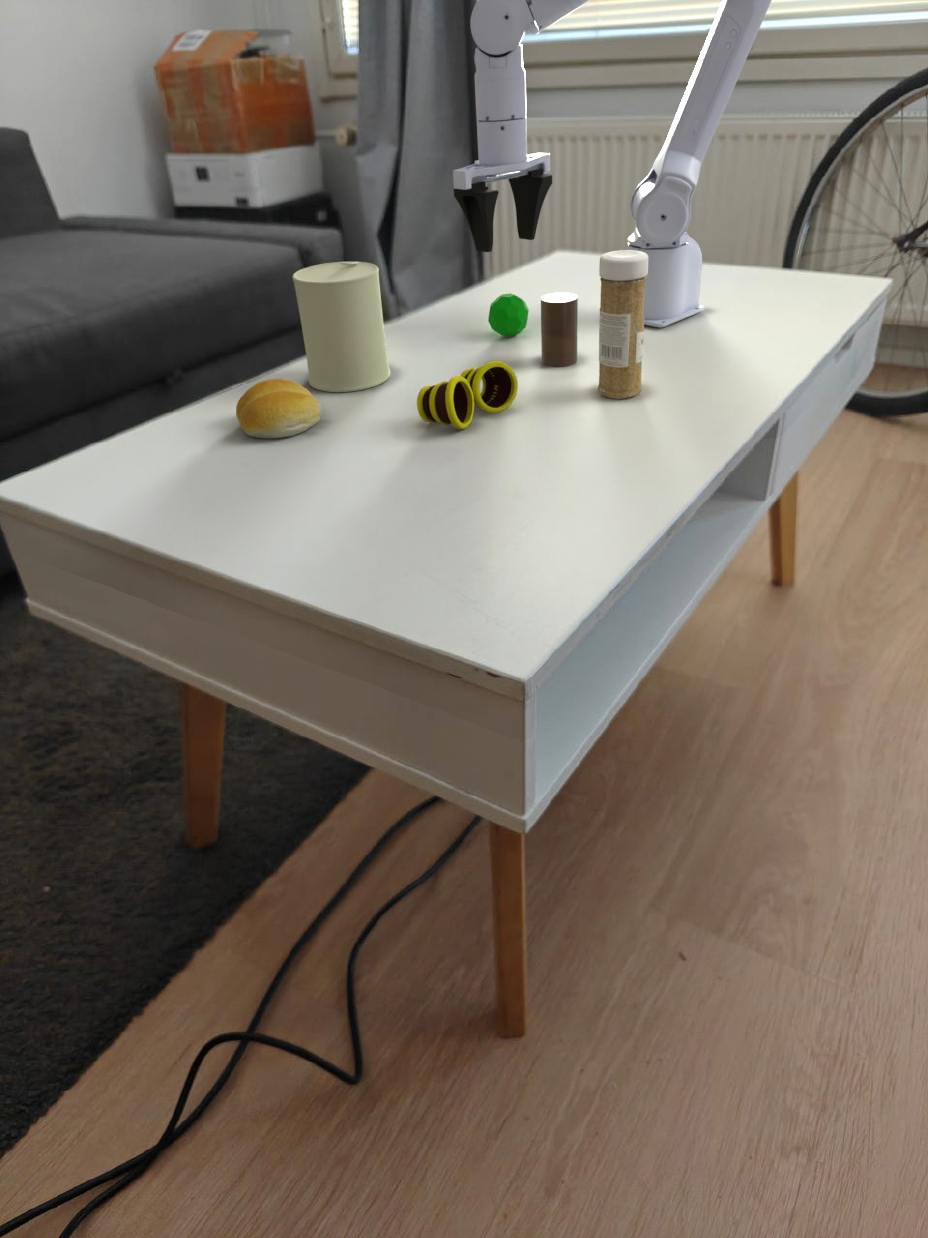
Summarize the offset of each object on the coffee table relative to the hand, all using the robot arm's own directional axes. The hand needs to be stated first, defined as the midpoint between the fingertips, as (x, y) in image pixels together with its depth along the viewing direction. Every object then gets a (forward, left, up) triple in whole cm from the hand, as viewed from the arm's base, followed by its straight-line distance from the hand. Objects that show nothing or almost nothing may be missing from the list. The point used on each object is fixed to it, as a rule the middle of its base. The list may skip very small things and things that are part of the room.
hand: (505, 244), depth 110 cm
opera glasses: (+26, +19, -10) cm, 34 cm away
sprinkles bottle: (+12, +27, -10) cm, 31 cm away
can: (+26, 0, -10) cm, 28 cm away
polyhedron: (+4, +4, -10) cm, 11 cm away
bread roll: (+39, +5, -10) cm, 40 cm away
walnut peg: (+8, +16, -9) cm, 20 cm away
